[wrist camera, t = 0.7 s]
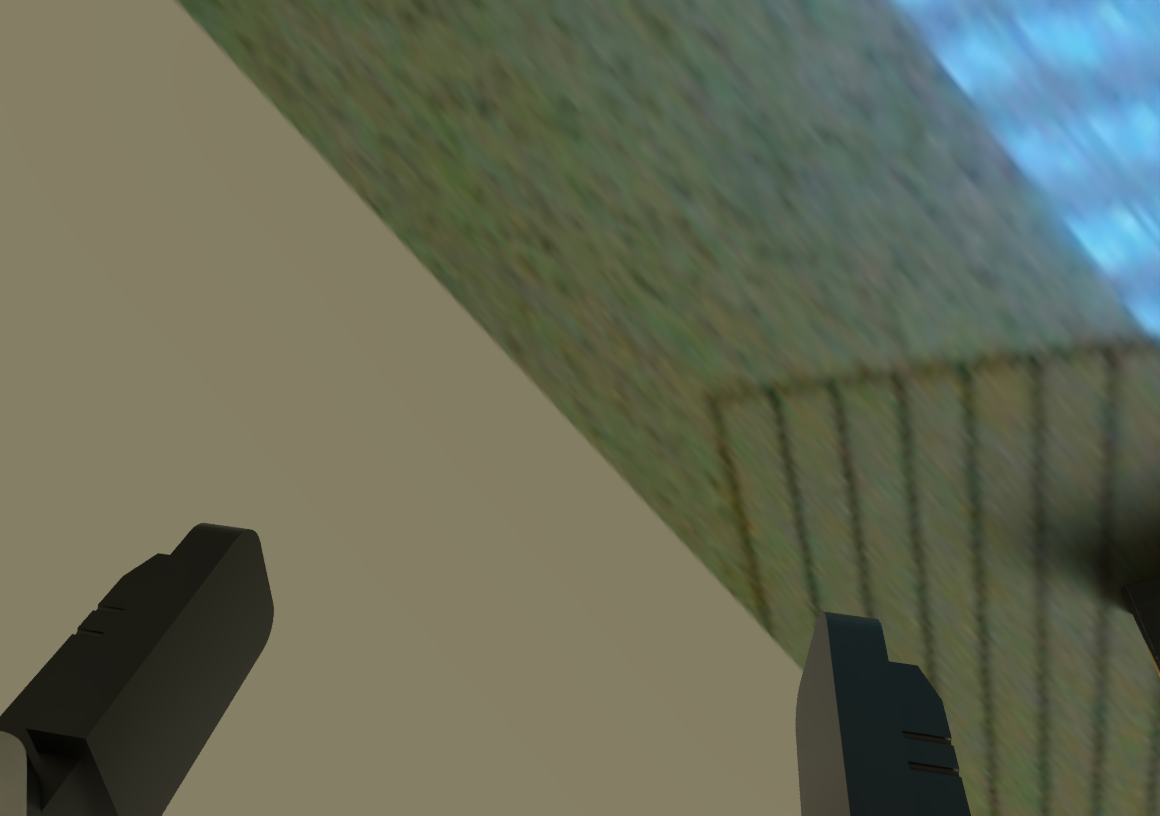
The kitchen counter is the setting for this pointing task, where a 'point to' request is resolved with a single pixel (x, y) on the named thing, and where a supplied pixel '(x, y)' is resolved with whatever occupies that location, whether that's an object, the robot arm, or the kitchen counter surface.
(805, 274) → the kitchen counter surface
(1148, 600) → the ammunition clip
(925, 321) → the kitchen counter surface
